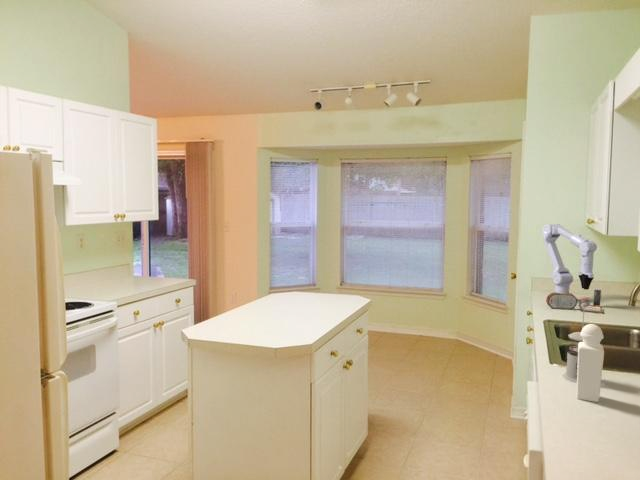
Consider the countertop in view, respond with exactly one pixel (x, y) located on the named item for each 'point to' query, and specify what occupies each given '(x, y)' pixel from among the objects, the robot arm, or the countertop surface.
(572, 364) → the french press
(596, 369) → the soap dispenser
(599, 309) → the drawing board
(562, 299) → the tin
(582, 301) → the button base
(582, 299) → the button
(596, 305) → the cylinder
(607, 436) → the countertop surface
